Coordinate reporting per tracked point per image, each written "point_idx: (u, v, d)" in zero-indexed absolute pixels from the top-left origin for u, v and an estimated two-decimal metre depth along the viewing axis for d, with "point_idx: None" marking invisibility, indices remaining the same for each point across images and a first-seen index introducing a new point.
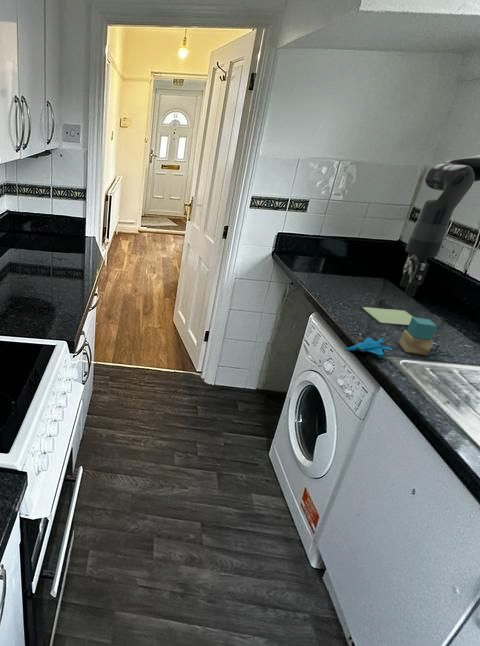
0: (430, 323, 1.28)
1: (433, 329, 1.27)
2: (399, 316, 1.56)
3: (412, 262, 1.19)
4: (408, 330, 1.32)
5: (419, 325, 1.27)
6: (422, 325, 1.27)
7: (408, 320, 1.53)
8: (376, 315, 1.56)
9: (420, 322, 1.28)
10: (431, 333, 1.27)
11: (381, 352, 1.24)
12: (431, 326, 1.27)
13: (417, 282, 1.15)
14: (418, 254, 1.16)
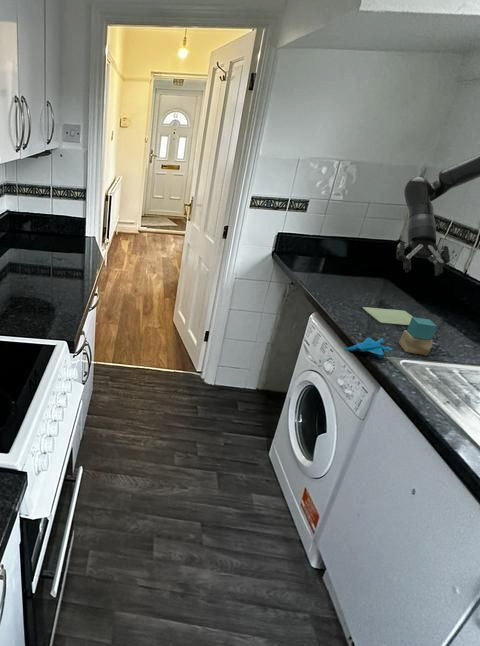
0: (430, 323, 1.28)
1: (433, 329, 1.27)
2: (399, 316, 1.56)
3: None
4: (408, 330, 1.32)
5: (419, 325, 1.27)
6: (422, 325, 1.27)
7: (408, 320, 1.53)
8: (376, 315, 1.56)
9: (420, 322, 1.28)
10: (431, 333, 1.27)
11: (381, 352, 1.24)
12: (431, 326, 1.27)
13: (398, 256, 1.37)
14: None
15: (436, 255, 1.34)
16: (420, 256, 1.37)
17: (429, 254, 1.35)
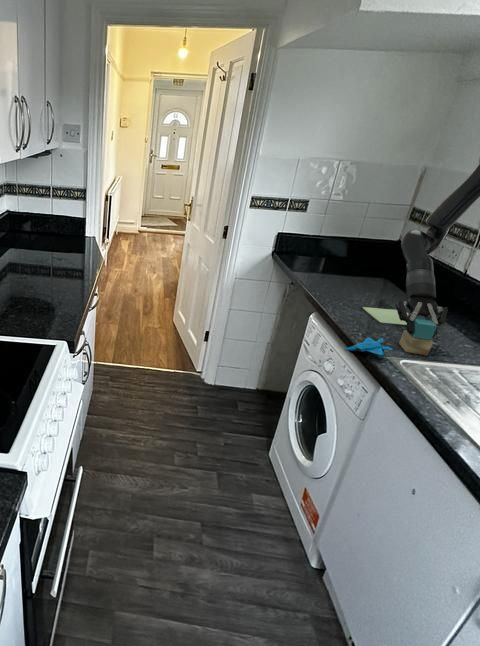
0: (430, 323, 1.28)
1: (433, 329, 1.27)
2: None
3: None
4: None
5: (419, 325, 1.27)
6: (422, 325, 1.27)
7: None
8: (376, 315, 1.56)
9: (420, 322, 1.28)
10: (431, 333, 1.27)
11: (381, 352, 1.24)
12: (431, 326, 1.27)
13: (401, 317, 1.32)
14: (406, 297, 1.35)
15: (432, 315, 1.29)
16: (419, 314, 1.31)
17: (428, 313, 1.30)
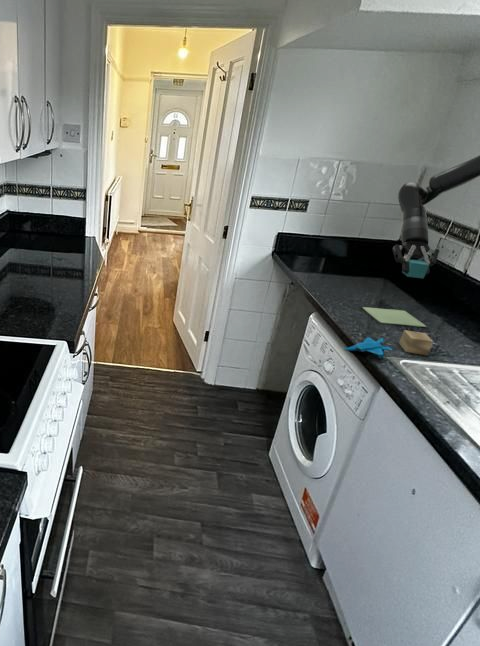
0: (423, 263, 1.42)
1: (425, 268, 1.41)
2: (399, 316, 1.56)
3: None
4: None
5: (413, 264, 1.42)
6: (415, 264, 1.41)
7: (408, 320, 1.53)
8: (376, 315, 1.56)
9: (414, 262, 1.42)
10: (424, 271, 1.42)
11: (381, 352, 1.24)
12: (424, 265, 1.41)
13: (397, 259, 1.46)
14: (402, 242, 1.49)
15: (425, 256, 1.43)
16: (413, 256, 1.46)
17: (421, 254, 1.44)
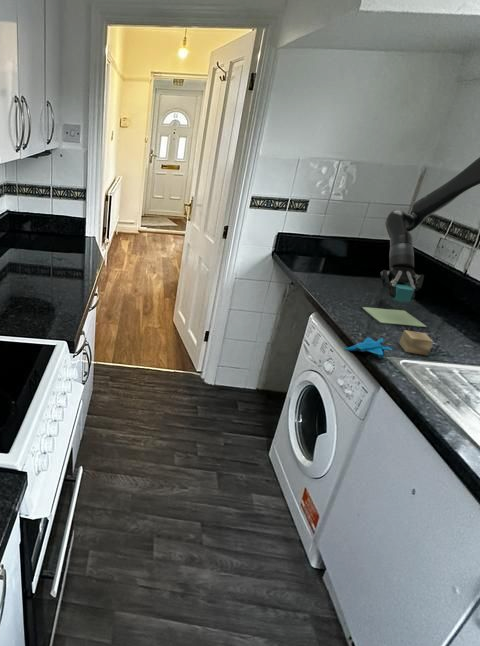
0: (409, 288, 1.50)
1: (411, 293, 1.49)
2: (399, 316, 1.56)
3: None
4: None
5: (399, 289, 1.50)
6: (401, 289, 1.49)
7: (408, 320, 1.53)
8: (376, 315, 1.56)
9: (400, 287, 1.50)
10: (409, 296, 1.50)
11: (381, 352, 1.24)
12: (409, 290, 1.49)
13: (385, 283, 1.54)
14: (389, 267, 1.57)
15: (411, 281, 1.51)
16: (400, 281, 1.54)
17: (407, 279, 1.52)
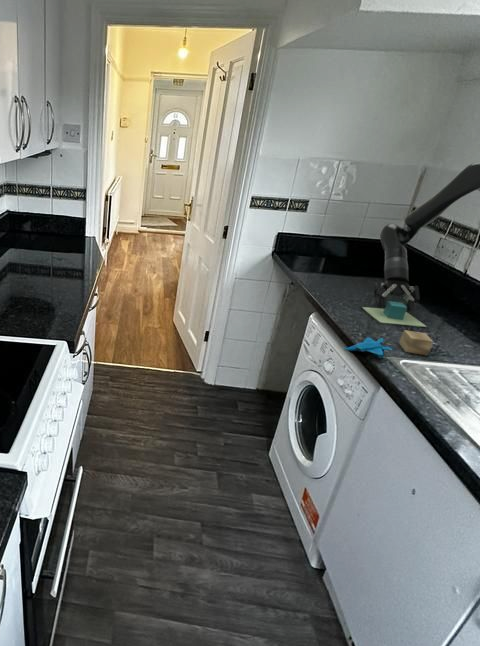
0: (402, 305, 1.53)
1: (404, 310, 1.52)
2: None
3: None
4: (384, 312, 1.58)
5: (393, 307, 1.53)
6: (395, 306, 1.52)
7: (408, 320, 1.53)
8: (376, 315, 1.56)
9: (393, 304, 1.53)
10: (403, 313, 1.52)
11: (381, 352, 1.24)
12: (402, 308, 1.52)
13: (375, 294, 1.57)
14: (384, 280, 1.60)
15: (408, 294, 1.54)
16: (394, 294, 1.56)
17: (402, 293, 1.55)
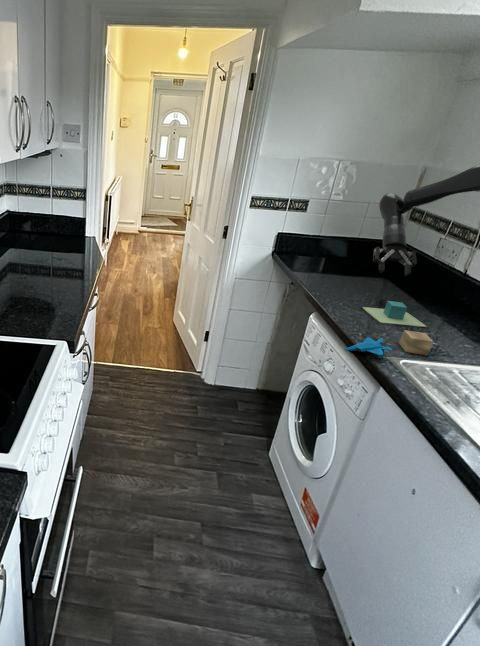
0: (402, 305, 1.53)
1: (404, 310, 1.52)
2: None
3: None
4: (384, 312, 1.58)
5: (393, 307, 1.53)
6: (395, 306, 1.52)
7: (408, 320, 1.53)
8: (376, 315, 1.56)
9: (393, 304, 1.53)
10: (403, 313, 1.52)
11: (381, 352, 1.24)
12: (402, 308, 1.52)
13: (374, 259, 1.64)
14: None
15: (405, 258, 1.60)
16: (392, 259, 1.63)
17: (400, 258, 1.61)
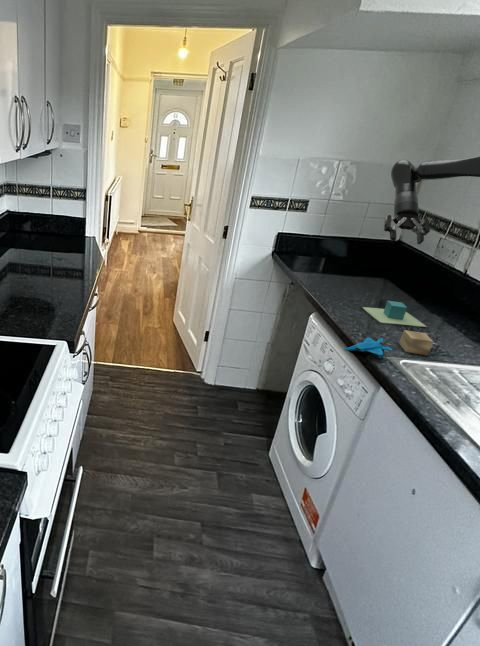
0: (402, 305, 1.53)
1: (404, 310, 1.52)
2: None
3: None
4: (384, 312, 1.58)
5: (393, 307, 1.53)
6: (395, 306, 1.52)
7: (408, 320, 1.53)
8: (376, 315, 1.56)
9: (393, 304, 1.53)
10: (403, 313, 1.52)
11: (381, 352, 1.24)
12: (402, 308, 1.52)
13: (385, 228, 1.58)
14: (394, 215, 1.61)
15: (418, 226, 1.55)
16: (404, 227, 1.57)
17: (412, 225, 1.56)
